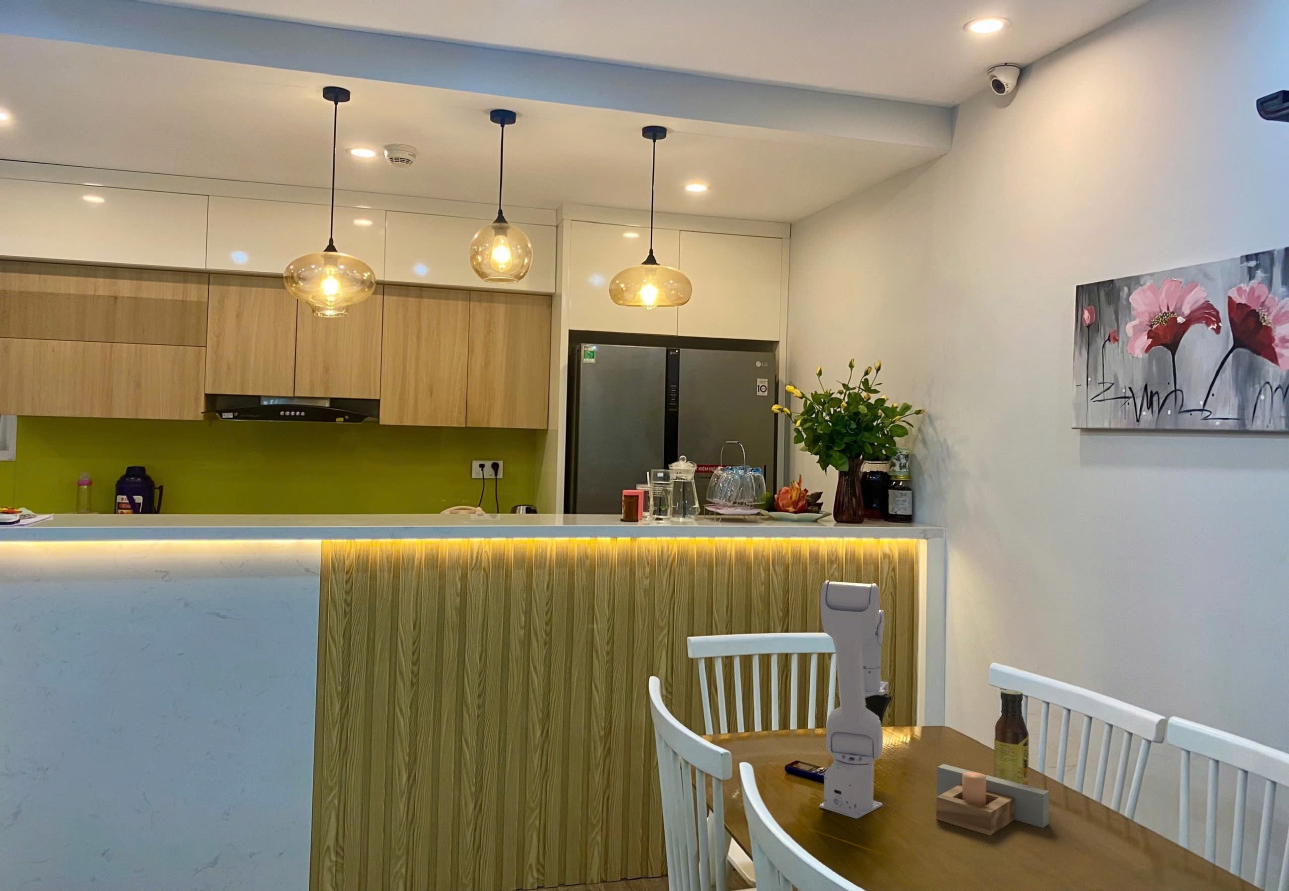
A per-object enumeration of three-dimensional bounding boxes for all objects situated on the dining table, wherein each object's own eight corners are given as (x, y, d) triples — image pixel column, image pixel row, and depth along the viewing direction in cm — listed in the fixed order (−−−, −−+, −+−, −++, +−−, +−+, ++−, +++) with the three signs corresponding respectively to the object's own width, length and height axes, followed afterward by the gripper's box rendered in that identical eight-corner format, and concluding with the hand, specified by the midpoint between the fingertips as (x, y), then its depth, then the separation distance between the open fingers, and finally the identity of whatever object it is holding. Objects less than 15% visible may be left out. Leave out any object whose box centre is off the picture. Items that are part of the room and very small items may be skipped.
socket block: (990, 835, 163) (990, 812, 163) (936, 818, 170) (936, 796, 170) (1014, 819, 171) (1014, 797, 171) (961, 804, 178) (961, 783, 178)
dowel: (978, 820, 168) (978, 780, 168) (958, 814, 171) (958, 775, 171) (990, 815, 170) (990, 775, 170) (970, 808, 173) (970, 770, 174)
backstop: (1042, 828, 167) (1043, 794, 168) (936, 798, 181) (937, 766, 181) (1048, 824, 169) (1048, 790, 169) (943, 794, 183) (943, 763, 183)
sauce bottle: (1031, 801, 180) (1033, 697, 180) (996, 798, 182) (998, 695, 182) (1024, 789, 187) (1026, 689, 187) (991, 787, 188) (992, 686, 188)
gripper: (864, 674, 183) (863, 745, 183) (902, 663, 193) (900, 730, 193) (833, 668, 188) (832, 737, 188) (871, 657, 198) (870, 722, 198)
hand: (865, 733), depth 191 cm, fingers open, 7 cm apart
